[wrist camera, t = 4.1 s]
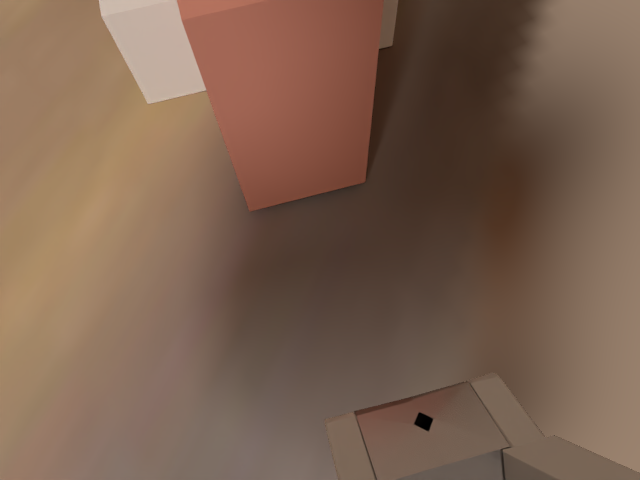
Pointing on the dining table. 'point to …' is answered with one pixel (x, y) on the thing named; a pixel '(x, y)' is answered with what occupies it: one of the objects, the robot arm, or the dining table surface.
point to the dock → (174, 44)
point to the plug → (289, 89)
